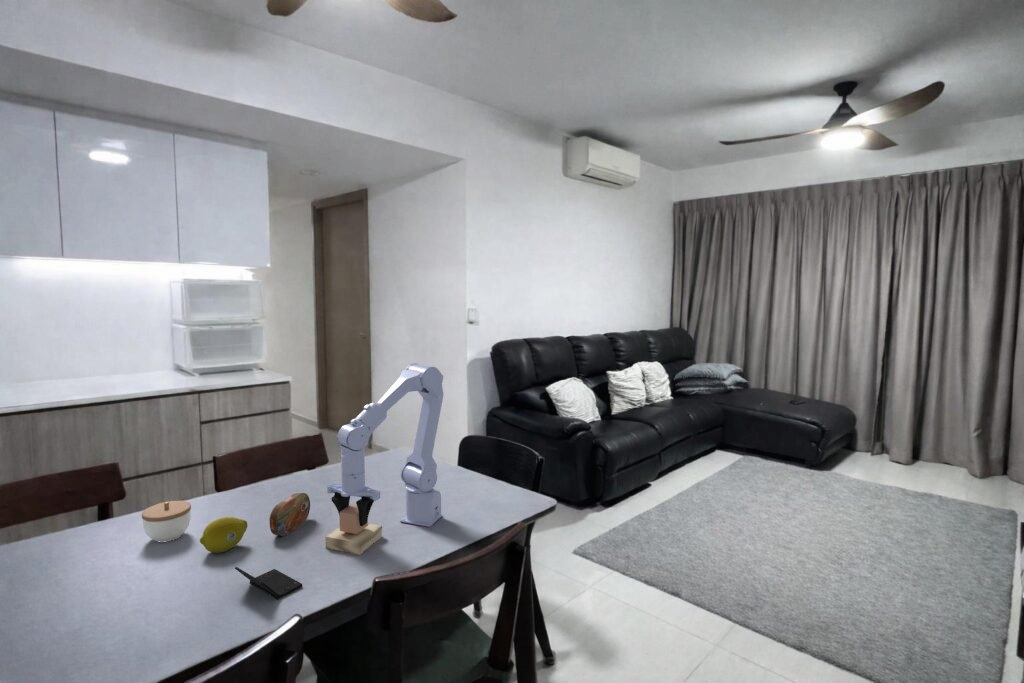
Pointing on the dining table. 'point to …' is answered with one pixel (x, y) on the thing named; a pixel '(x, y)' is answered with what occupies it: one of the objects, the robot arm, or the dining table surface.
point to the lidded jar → (166, 520)
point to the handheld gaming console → (273, 583)
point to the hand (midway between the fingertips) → (354, 522)
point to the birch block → (354, 539)
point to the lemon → (223, 534)
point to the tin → (289, 514)
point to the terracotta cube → (351, 520)
